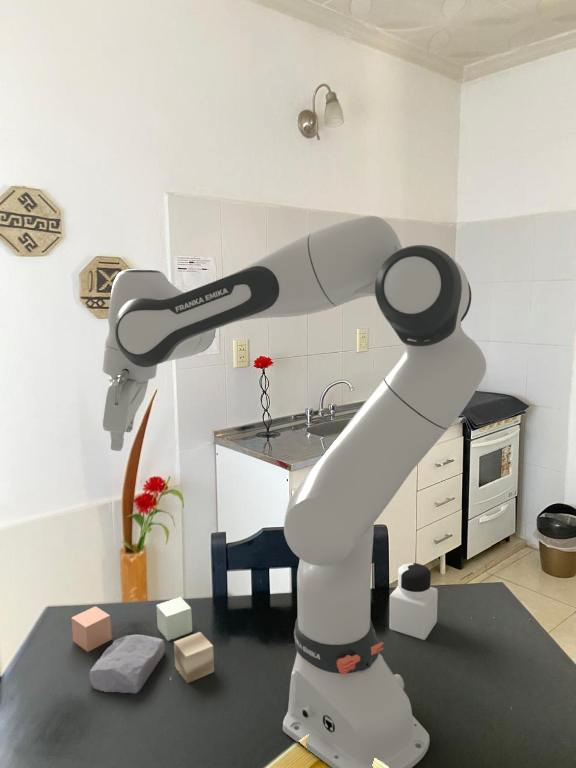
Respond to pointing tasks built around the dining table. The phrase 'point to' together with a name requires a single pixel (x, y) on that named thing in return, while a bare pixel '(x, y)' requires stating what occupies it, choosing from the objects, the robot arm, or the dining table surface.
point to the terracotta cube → (91, 628)
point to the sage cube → (174, 618)
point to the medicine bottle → (413, 602)
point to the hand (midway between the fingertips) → (122, 439)
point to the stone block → (127, 664)
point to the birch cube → (194, 657)
